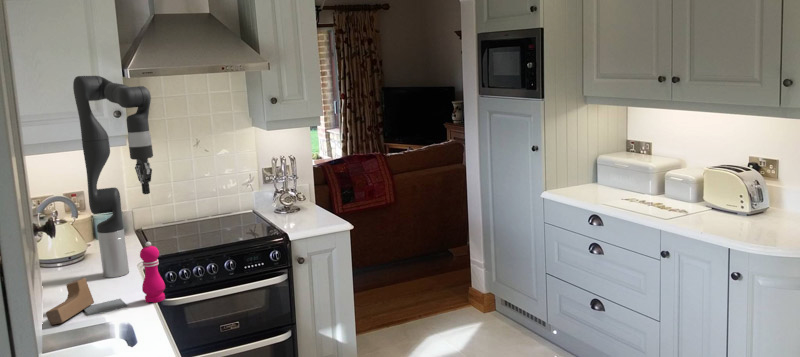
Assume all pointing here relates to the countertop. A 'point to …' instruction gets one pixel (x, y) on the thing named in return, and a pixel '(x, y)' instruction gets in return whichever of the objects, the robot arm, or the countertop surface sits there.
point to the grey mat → (104, 306)
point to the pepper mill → (152, 275)
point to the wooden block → (71, 302)
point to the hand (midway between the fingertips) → (146, 193)
